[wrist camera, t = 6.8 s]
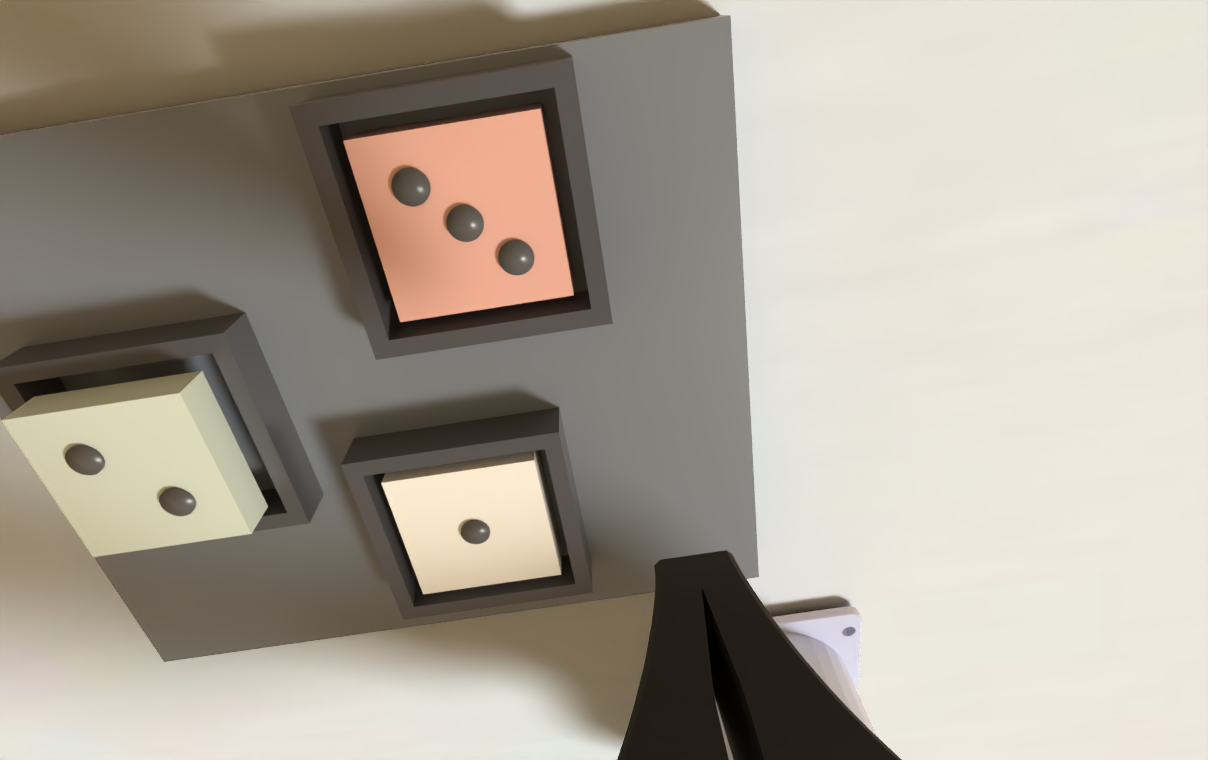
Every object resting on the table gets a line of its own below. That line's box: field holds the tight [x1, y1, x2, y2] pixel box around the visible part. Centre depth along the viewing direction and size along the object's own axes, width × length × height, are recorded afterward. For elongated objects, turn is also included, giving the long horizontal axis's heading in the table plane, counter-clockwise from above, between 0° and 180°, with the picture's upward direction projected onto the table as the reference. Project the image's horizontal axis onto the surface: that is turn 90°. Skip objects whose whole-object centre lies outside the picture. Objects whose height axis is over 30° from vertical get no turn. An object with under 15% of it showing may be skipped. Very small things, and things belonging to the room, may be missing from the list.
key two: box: [1, 371, 268, 557], centre depth 19 cm, size 5×5×1 cm
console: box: [0, 15, 759, 662], centre depth 20 cm, size 18×22×2 cm
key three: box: [343, 103, 574, 322], centre depth 17 cm, size 5×5×1 cm
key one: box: [381, 450, 562, 594], centre depth 22 cm, size 5×5×1 cm
